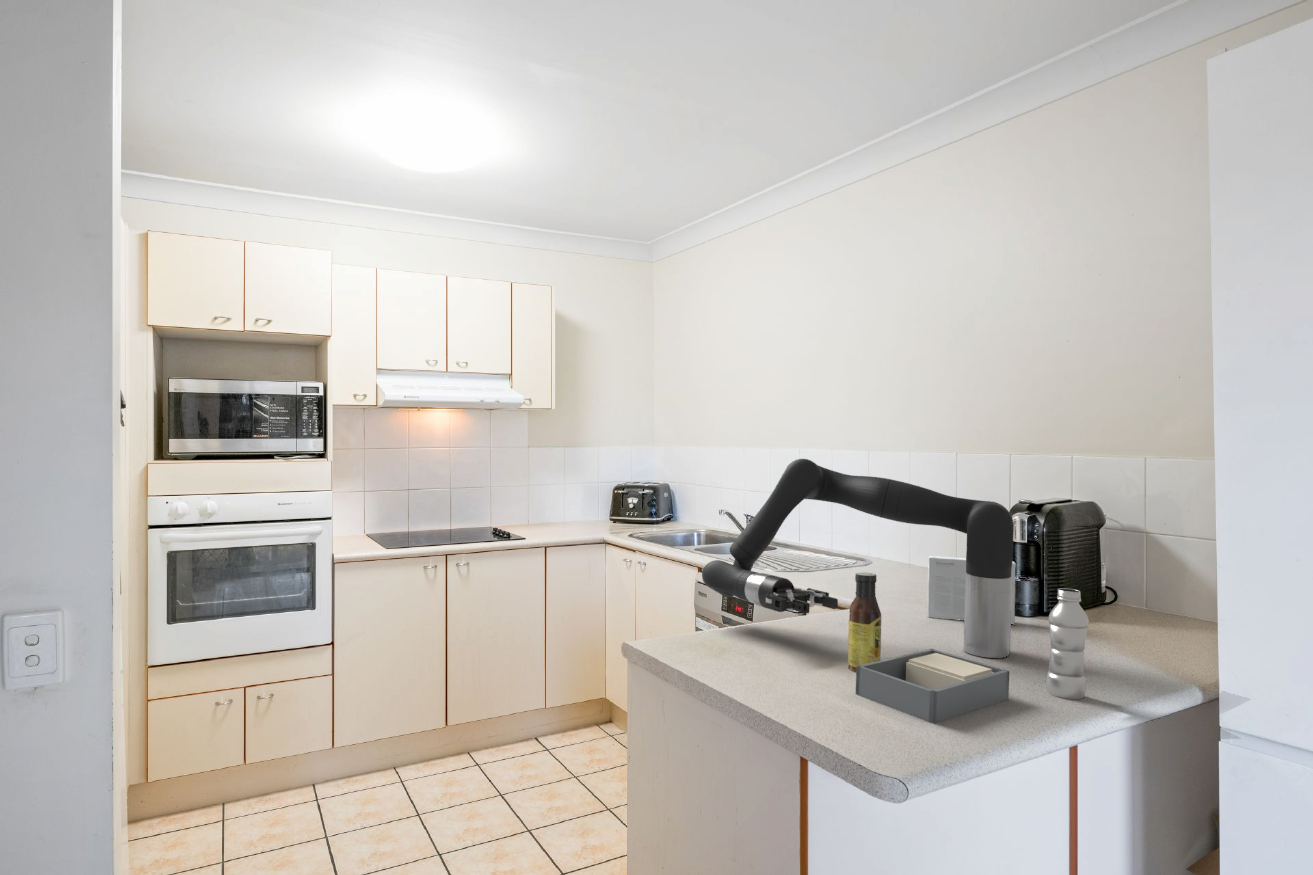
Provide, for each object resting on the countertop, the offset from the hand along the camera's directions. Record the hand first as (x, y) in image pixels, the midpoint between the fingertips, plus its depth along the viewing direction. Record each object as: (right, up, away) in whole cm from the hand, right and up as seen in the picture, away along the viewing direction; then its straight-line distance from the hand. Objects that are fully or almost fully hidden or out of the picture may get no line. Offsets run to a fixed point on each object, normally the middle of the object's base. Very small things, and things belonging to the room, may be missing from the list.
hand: (822, 606), depth 161 cm
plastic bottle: (+40, -13, -21) cm, 47 cm away
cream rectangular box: (+18, -11, -21) cm, 30 cm away
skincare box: (+47, -12, +39) cm, 62 cm away
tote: (+14, -12, -24) cm, 30 cm away
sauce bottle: (+6, -12, -9) cm, 16 cm away
